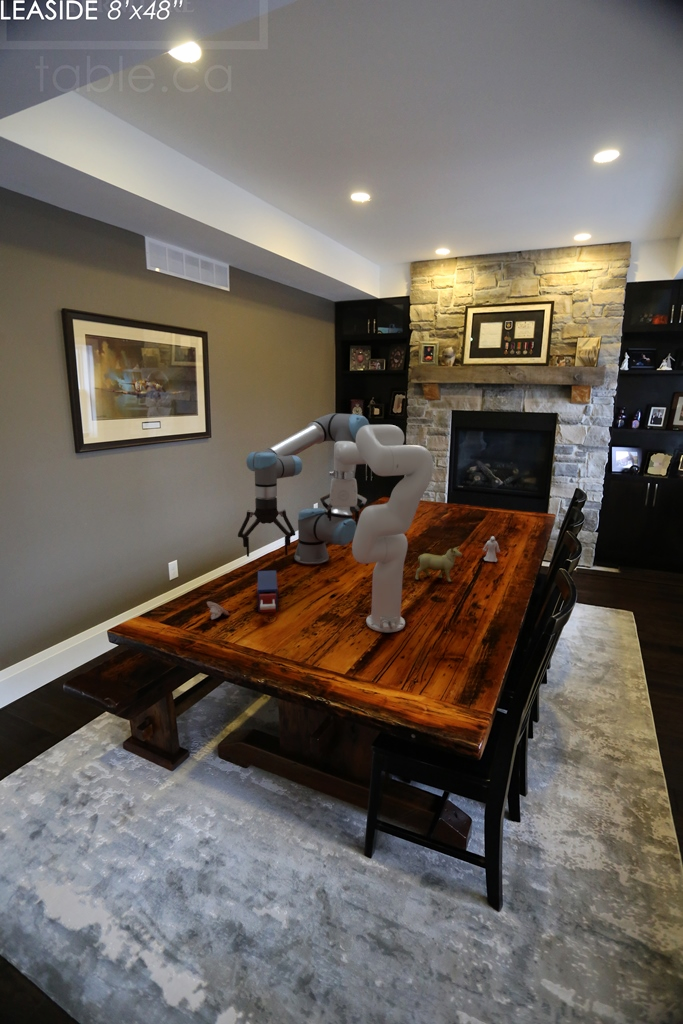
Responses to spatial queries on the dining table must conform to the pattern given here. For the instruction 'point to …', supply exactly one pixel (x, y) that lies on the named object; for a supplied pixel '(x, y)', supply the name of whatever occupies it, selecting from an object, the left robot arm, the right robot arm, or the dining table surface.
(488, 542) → the figurine
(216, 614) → the seashell
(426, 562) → the toy
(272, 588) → the cabinet
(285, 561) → the dining table surface
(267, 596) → the drawer
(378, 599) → the right robot arm
